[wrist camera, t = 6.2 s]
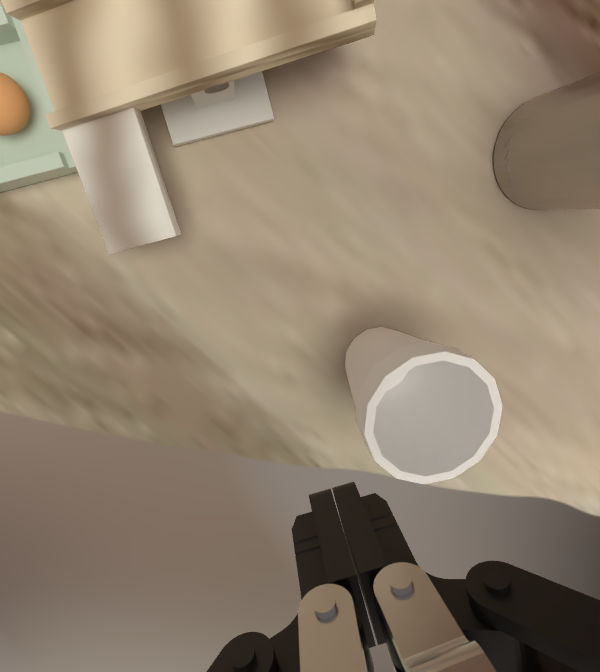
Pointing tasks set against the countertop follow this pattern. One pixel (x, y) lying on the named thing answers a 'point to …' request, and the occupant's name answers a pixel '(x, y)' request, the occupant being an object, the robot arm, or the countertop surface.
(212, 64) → the board
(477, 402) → the foam cup
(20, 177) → the bin
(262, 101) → the lever stand
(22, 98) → the ball
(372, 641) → the robot arm
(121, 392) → the countertop surface
